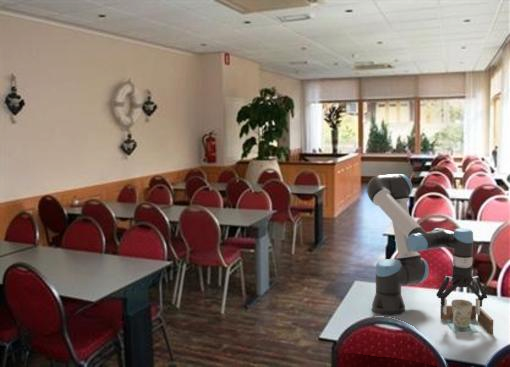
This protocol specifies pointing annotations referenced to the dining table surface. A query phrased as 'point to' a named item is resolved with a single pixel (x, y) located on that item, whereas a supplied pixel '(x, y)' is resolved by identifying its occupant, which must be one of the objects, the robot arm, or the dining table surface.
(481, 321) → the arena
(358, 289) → the dining table surface
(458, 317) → the mug
